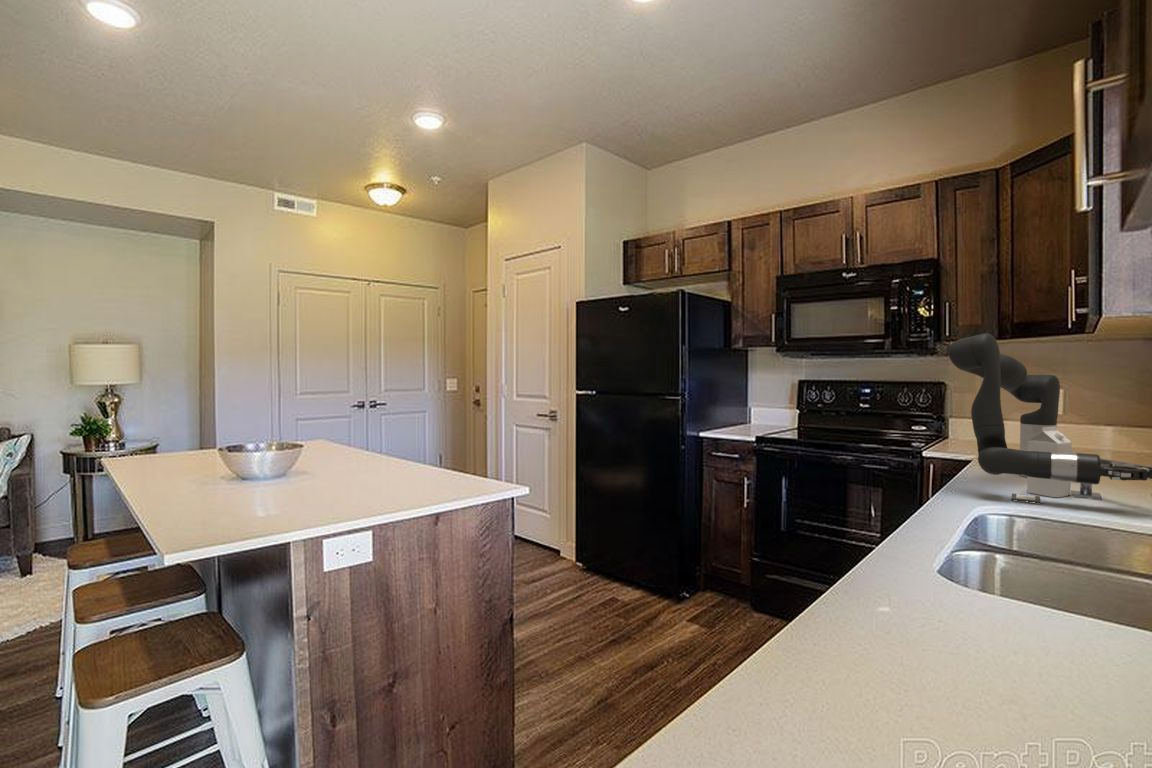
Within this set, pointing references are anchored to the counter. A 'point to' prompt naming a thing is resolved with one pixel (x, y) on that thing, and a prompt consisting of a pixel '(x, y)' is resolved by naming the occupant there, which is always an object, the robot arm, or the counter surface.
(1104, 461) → the swing arm
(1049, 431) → the milk carton
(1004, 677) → the counter surface
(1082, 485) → the pivot post
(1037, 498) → the label plate
